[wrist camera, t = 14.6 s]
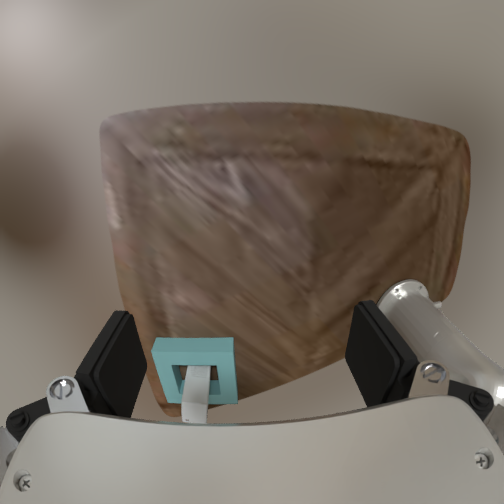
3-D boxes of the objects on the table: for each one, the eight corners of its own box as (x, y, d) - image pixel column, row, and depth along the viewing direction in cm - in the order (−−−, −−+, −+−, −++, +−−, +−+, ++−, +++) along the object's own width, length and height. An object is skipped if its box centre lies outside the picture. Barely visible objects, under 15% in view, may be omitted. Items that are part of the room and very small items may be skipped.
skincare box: (210, 378, 51) (206, 425, 39) (189, 375, 50) (181, 422, 39) (212, 356, 49) (207, 405, 37) (189, 353, 48) (180, 401, 37)
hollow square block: (233, 337, 47) (233, 351, 43) (237, 389, 52) (237, 403, 48) (156, 337, 47) (151, 351, 43) (171, 388, 51) (168, 402, 48)
